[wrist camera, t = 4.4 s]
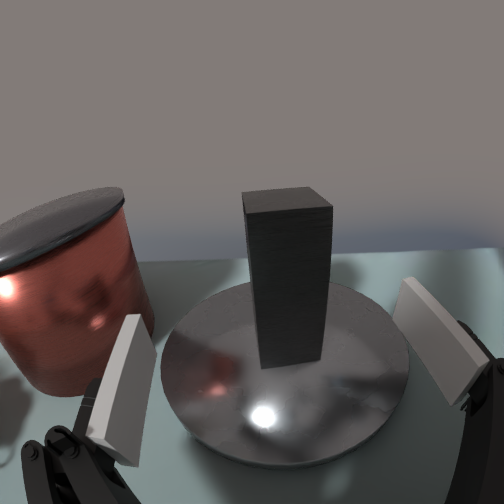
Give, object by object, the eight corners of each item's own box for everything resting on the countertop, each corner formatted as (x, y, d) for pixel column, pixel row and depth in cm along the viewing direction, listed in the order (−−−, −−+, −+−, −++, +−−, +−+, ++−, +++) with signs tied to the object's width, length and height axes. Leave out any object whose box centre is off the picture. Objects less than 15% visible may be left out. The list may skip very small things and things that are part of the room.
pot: (170, 283, 29) (147, 177, 24) (136, 411, 15) (50, 253, 9) (17, 294, 28) (-11, 221, 23) (-39, 367, 14) (-87, 280, 8)
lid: (352, 280, 27) (360, 166, 22) (441, 420, 11) (533, 256, 6) (181, 301, 27) (155, 184, 21) (153, 475, 11) (20, 327, 5)
